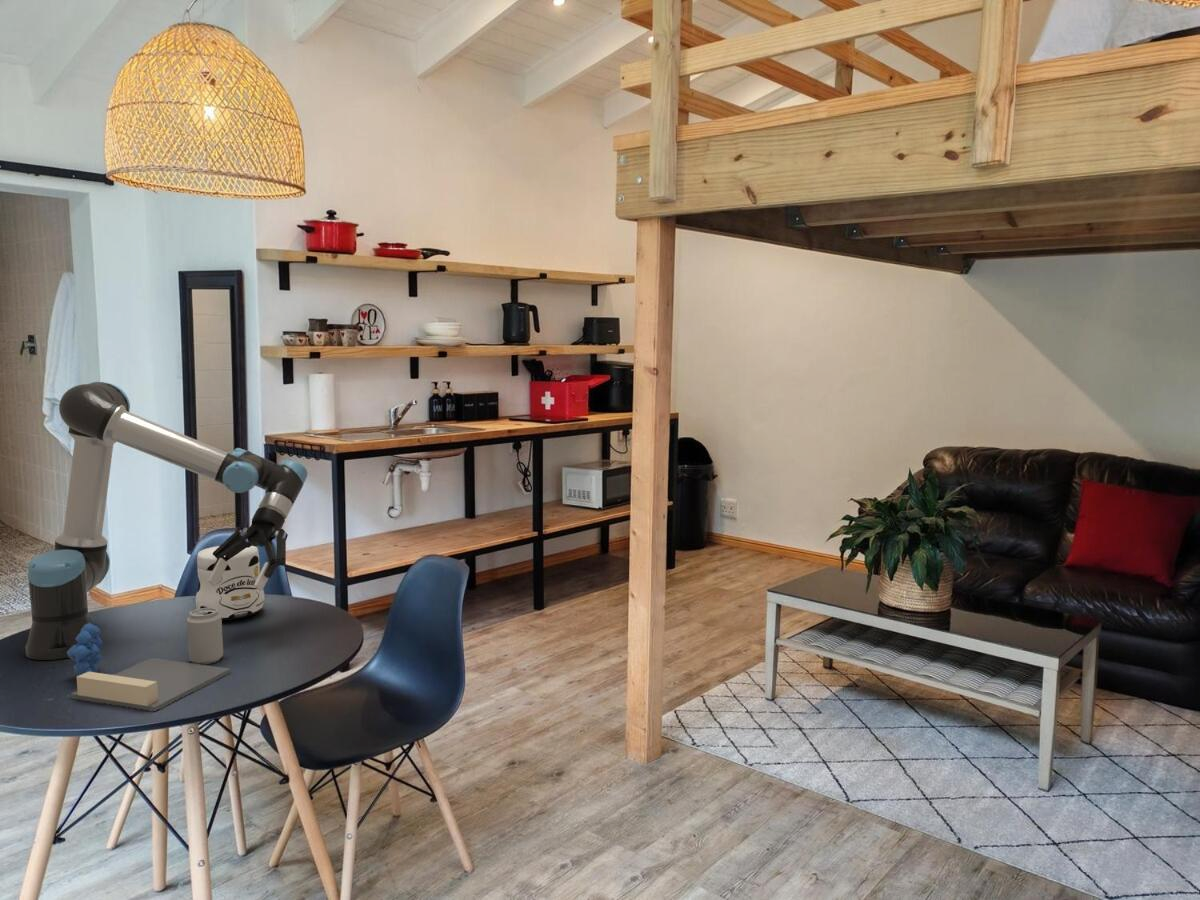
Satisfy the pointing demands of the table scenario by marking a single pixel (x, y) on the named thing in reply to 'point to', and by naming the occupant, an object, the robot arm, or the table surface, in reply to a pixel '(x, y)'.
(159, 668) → the stop plate
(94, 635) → the grapes
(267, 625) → the table surface
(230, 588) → the milk container
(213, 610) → the can
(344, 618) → the table surface
